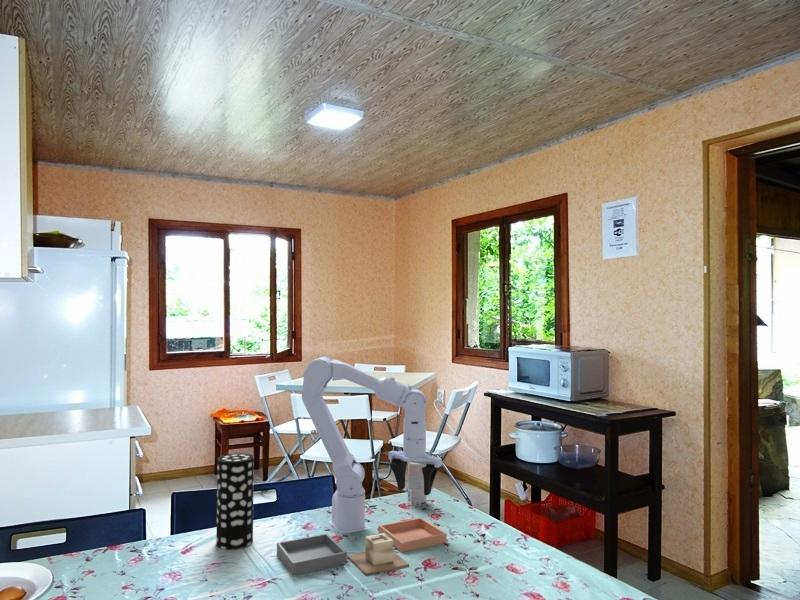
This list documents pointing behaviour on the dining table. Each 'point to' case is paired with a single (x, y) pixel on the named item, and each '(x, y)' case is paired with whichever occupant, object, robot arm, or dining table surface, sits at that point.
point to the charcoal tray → (311, 554)
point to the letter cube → (379, 549)
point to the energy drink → (416, 485)
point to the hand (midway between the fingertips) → (414, 491)
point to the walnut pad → (374, 569)
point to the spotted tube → (235, 501)
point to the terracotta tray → (413, 534)
